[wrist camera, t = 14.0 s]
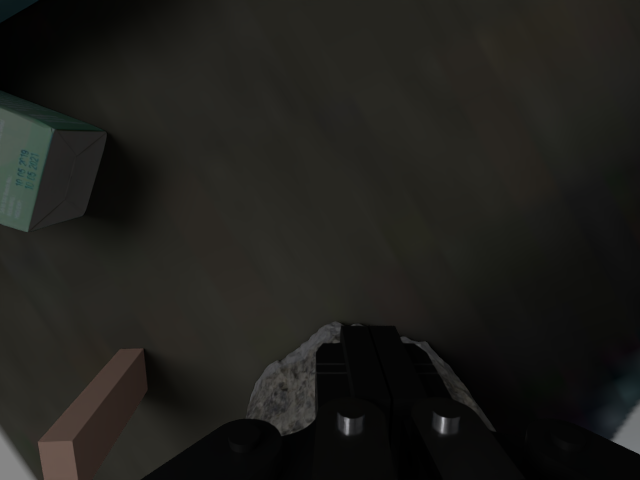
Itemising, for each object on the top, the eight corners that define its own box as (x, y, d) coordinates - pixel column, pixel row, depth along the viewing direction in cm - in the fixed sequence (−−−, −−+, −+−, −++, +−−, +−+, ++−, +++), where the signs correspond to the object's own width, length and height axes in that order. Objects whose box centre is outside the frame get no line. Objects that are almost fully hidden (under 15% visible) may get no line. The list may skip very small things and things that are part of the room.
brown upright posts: (67, -104, 30) (-82, -262, 18) (97, -104, 30) (-33, -261, 18) (124, 390, 38) (47, 498, 27) (147, 389, 38) (80, 497, 27)
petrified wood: (496, 391, 40) (609, 532, 25) (376, 517, 43) (415, 712, 28) (341, 270, 37) (367, 353, 22) (220, 414, 39) (172, 573, 25)
